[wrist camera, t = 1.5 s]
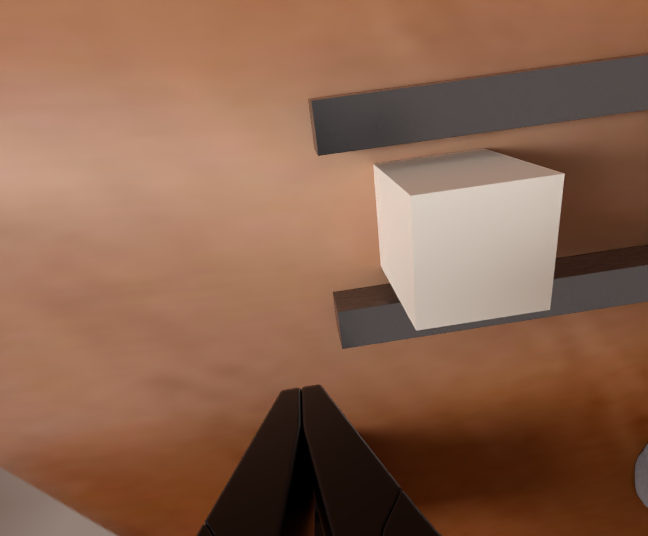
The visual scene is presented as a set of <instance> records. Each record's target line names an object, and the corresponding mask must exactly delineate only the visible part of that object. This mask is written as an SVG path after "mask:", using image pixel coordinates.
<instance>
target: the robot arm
mask: <svg viewBox="0 0 648 536" xmlns="http://www.w3.org/2000/svg"><path fill="white" fill-rule="evenodd" d="M196 536H441V535H440V534H439V532H438V531H437V530H436V529H435V528H434V527H433V526H432V525H431V523H430V522H429V521H428V520H427V519H426V517H425V516H424V515H423V514H422V513H421V511H420V510H419V509H418V508H417V507H416V505H415V504H414V503H413V502H412V500H411V499H410V498H409V496H408V495H407V494H406V493H405V492H404V491H402V488H401V487H400V485H399V484H398V483H397V481H396V480H395V479H394V478H393V476H392V475H391V474H390V473H389V471H388V470H387V469H386V467H385V466H384V465H383V464H382V462H381V461H380V460H379V459H378V457H377V456H376V455H375V453H374V452H373V451H372V450H371V448H370V447H369V446H368V445H367V443H366V442H365V441H364V439H363V438H362V437H361V436H360V434H359V433H358V432H357V430H356V429H355V428H354V427H353V425H352V424H351V423H350V422H349V420H348V419H347V418H346V416H345V415H344V414H343V413H342V411H341V410H340V409H339V408H338V406H337V405H336V404H335V402H334V401H333V400H332V399H331V397H330V396H329V395H328V394H327V392H326V391H325V390H324V388H323V387H322V386H321V385H312V386H306V387H303V388H302V390H301V389H300V388H293V389H286V390H282V391H281V392H280V394H279V396H278V397H277V399H276V401H275V402H274V404H273V406H272V408H271V409H270V411H269V413H268V414H267V416H266V418H265V420H264V421H263V423H262V425H261V426H260V428H259V430H258V431H257V433H256V435H255V437H254V438H253V440H252V442H251V443H250V445H249V447H248V449H247V450H246V452H245V454H244V455H243V457H242V459H241V461H240V462H239V464H238V466H237V467H236V469H235V471H234V472H233V474H232V476H231V478H230V479H229V481H228V483H227V484H226V486H225V488H224V490H223V491H222V493H221V495H220V496H219V498H218V500H217V502H216V503H215V505H214V507H213V508H212V510H211V512H210V513H209V515H208V517H207V519H206V520H205V524H204V525H202V527H201V528H200V530H199V532H198V534H197V535H196Z"/></svg>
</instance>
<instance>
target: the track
mask: <svg viewBox="0 0 648 536" xmlns="http://www.w3.org/2000/svg"><path fill="white" fill-rule="evenodd" d="M308 101H309V109H310V117H311V124H312V132H313V140H314V148H315V150H316V152H317V154H318V156H320V155H327V154H334V153H341V152H348V151H356V150H363V149H370V148H377V147H384V146H391V145H398V144H406V143H413V142H420V141H427V140H434V139H441V138H449V137H456V136H463V135H470V134H477V133H484V132H491V131H499V130H506V129H513V128H520V127H527V126H534V125H541V124H549V123H556V122H563V121H570V120H577V119H584V118H591V117H599V116H606V115H613V114H620V113H627V112H634V111H642V110H648V53H645V54H637V55H630V56H622V57H615V58H608V59H600V60H593V61H585V62H578V63H571V64H563V65H556V66H548V67H541V68H534V69H526V70H519V71H512V72H504V73H497V74H489V75H482V76H475V77H467V78H460V79H452V80H445V81H438V82H430V83H423V84H415V85H408V86H401V87H393V88H386V89H378V90H371V91H364V92H356V93H349V94H341V95H334V96H327V97H319V98H312V99H308ZM333 297H334V305H335V312H336V320H337V327H338V332H339V336H340V341H341V345H342V349H345V348H351V347H357V346H364V345H370V344H377V343H383V342H390V341H396V340H402V339H409V338H415V337H422V336H428V335H434V334H441V333H447V332H454V331H460V330H467V329H473V328H479V327H486V326H492V325H499V324H505V323H512V322H518V321H524V320H531V319H537V318H544V317H550V316H557V315H563V314H569V313H576V312H582V311H589V310H595V309H601V308H608V307H614V306H621V305H627V304H634V303H640V302H646V301H648V245H644V246H637V247H631V248H624V249H618V250H611V251H604V252H598V253H591V254H584V255H578V256H571V257H565V258H558V259H556V260H555V269H554V278H553V288H552V297H551V306H550V310H545V311H539V312H533V313H526V314H520V315H513V316H507V317H500V318H494V319H488V320H481V321H475V322H468V323H462V324H456V325H449V326H443V327H436V328H430V329H423V330H417V331H416V330H415V328H414V326H413V324H412V322H411V320H410V319H409V317H408V315H407V313H406V311H405V309H404V308H403V306H402V304H401V302H400V300H399V298H398V297H397V295H396V293H395V291H394V289H393V288H392V286H391V284H386V285H379V286H373V287H366V288H359V289H353V290H346V291H340V292H333Z"/></svg>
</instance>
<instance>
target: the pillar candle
mask: <svg viewBox="0 0 648 536" xmlns="http://www.w3.org/2000/svg"><path fill="white" fill-rule="evenodd" d="M635 488H636V493H637V495H638V496H639V498H640V499H641V501H642V502H643V503H644V504H645V506H646V507H647V508H648V444H647V445H646V446H645V448H644V450H643V451H642V452H641V454H640V455H639V456H638V458H637V461H636V464H635Z"/></svg>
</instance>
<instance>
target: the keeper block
mask: <svg viewBox="0 0 648 536" xmlns="http://www.w3.org/2000/svg"><path fill="white" fill-rule="evenodd" d="M373 166H374V179H375V193H376V206H377V220H378V233H379V247H380V260H381V267H382V269H383V271H384V273H385V275H386V277H387V278H388V280H389V282H390V284H391V286H392V288H393V289H394V291H395V293H396V295H397V297H398V298H399V300H400V302H401V304H402V306H403V308H404V309H405V311H406V313H407V315H408V317H409V319H410V320H411V322H412V324H413V326H414V328H415V330H416V331H417V330H423V329H430V328H436V327H443V326H449V325H456V324H462V323H468V322H475V321H481V320H488V319H494V318H500V317H507V316H513V315H520V314H526V313H533V312H539V311H545V310H550V306H551V297H552V288H553V278H554V269H555V260H556V250H557V241H558V232H559V222H560V213H561V204H562V194H563V185H564V176H565V173H561V172H558V171H555V170H552V169H549V168H545V167H542V166H539V165H536V164H533V163H529V162H526V161H523V160H520V159H517V158H513V157H510V156H507V155H504V154H501V153H497V152H494V151H491V150H488V149H485V148H481V149H474V150H467V151H460V152H453V153H446V154H439V155H432V156H425V157H418V158H410V159H403V160H396V161H389V162H382V163H375V164H373Z"/></svg>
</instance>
